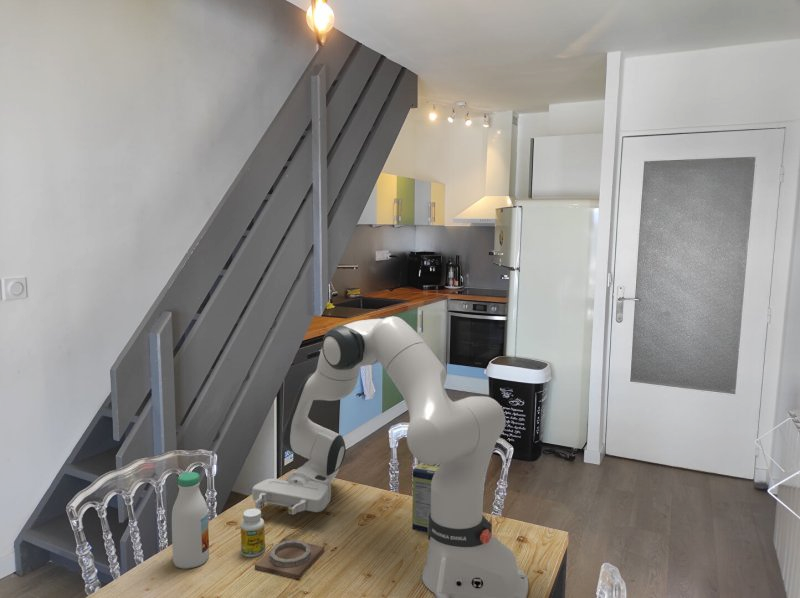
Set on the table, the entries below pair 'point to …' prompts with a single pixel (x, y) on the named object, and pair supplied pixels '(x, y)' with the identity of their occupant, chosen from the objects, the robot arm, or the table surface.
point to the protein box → (422, 495)
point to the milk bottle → (189, 524)
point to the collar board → (290, 558)
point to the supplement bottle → (252, 533)
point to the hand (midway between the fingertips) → (274, 508)
